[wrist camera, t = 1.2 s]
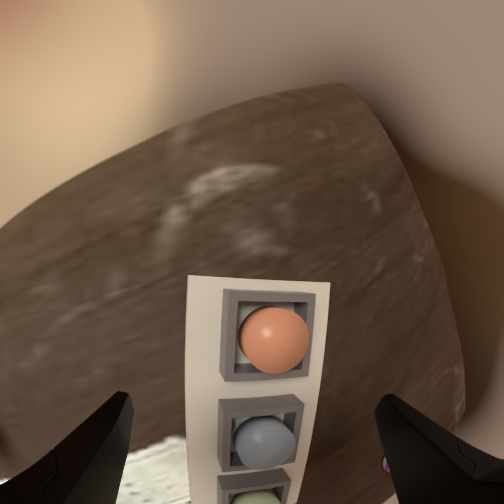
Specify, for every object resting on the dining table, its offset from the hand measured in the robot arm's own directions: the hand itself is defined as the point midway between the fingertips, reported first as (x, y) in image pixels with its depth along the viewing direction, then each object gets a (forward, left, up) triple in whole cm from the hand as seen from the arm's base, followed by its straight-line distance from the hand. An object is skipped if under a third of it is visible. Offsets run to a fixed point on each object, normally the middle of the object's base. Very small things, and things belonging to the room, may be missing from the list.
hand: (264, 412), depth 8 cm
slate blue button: (-10, -5, -13) cm, 17 cm away
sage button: (-20, -5, -13) cm, 25 cm away
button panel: (-10, -5, -16) cm, 19 cm away
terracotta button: (0, -5, -13) cm, 14 cm away
